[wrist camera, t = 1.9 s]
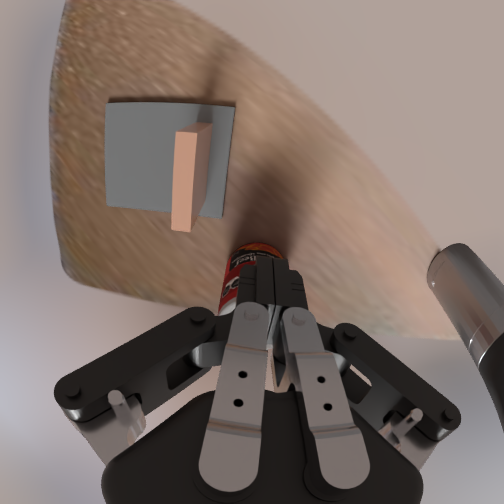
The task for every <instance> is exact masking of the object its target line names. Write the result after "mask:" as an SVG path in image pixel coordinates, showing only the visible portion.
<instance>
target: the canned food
mask: <svg viewBox="0 0 504 504" xmlns="http://www.w3.org/2000/svg"><path fill="white" fill-rule="evenodd" d="M257 255H258V256H266V257H272V258H273V257H274V258H281V259H283V257H282V256H281V255H280V253H279V252H278V251H277V250H276V249H275V248H273V247H272V246H270V245H267V244H264V243H250V244H246V245H244V246H242V247H240V248H239V249H237V250H236V251H235V252H234V253H233V254H232V256H231V257H230V259H229V260H228V263H227V266H226V272H225V277H224V282H223V287H222V293H221V298H220V304H219V309H218V316H220V315H225V314H228V313H230V312H232V311H233V310H234V309H235V306H236V296H237V289H238V281H239V274H240V269H241V268H242V267H243V266H244V265H245V264H248V265H255V262H256V257H257ZM271 348H273V345H270V344H267V345H266V350H268V349H271Z"/></svg>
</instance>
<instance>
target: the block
mask: <svg viewBox="0 0 504 504" xmlns="http://www.w3.org/2000/svg"><path fill="white" fill-rule="evenodd" d="M212 126H213V123H202V122H195V123H193V124H191V125H189V126H186V127H184V128H182V129H180V130H178V131H176V136H175V150H174V167H173V189H172V230H177V231H185V232H191V230H192V228H193V226H194V223H195V221H196V219H197V217H198V215H199V213H200V211H201V209H202V207H203V205H204V203H205V198H206V186H207V175H208V164H209V154H210V144H211V135H212Z"/></svg>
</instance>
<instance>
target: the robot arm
mask: <svg viewBox="0 0 504 504" xmlns="http://www.w3.org/2000/svg"><path fill="white" fill-rule="evenodd" d="M427 282H428V286H429V287H430V289H431V290H432V292H433V293H434V295H435V296H436V298H437V299H438V301H439V303H440V304H441V306H442V307H443V309H444V311H445V312H446V314H447V315H448V317H449V319H450V320H451V322H452V324H453V325H454V327H455V329H456V330H457V332H458V334H459V335H460V337H461V339H462V341H463V342H464V344H465V346H466V348H467V350H468V351H469V353H470V355H471V356H472V359H473V360H474V362H475V364H476V366H477V368H478V370H479V372H480V374H481V376H482V378H483V380H484V382H485V384H486V387H487V389H488V391H489V393H490V396H491V398H492V400H493V403H494V405H495V408H496V410H497V413H498V415H499V419H500V422H501V425H502V428H503V431H504V285H503V284H502V282H501V281H500V280H499V279H498V278H497V277H496V276H495V275H494V274H493V272H492V271H491V270H490V269H489V268H488V267H487V266H486V265H485V264H484V263H483V261H482V260H481V259H480V258H479V257H478V256H477V255H476V254H475V253H474V252H473V251H472V250H471V249H470V248H469V247H468V246H467V245H465V244H461V243H457V244H453V245H450V246H448V247H446V248H445V249H443V250H442V251H441V252H440V253H439V254H438V255H437V256H436V257H435V259H434V260H433V262H432V264H431V265H430V268H429V270H428V275H427ZM303 285H304V284H303V279H302V276H301V275H300V274H299V273H298V271H296V270H289V265H288V259H281V258H274V257H273V258H272V257H266V256H258V255H257V257H256V262H255V265H248V264H245V265H244V266H243V267H242V268H241V269H240V274H239V281H238V289H237V296H236V306H235V309H234V310H233V311H232V312H230V313H228V314H225V315H220V316H215V315H214V314H213V312H211V311H210V310H208V309H206V308H203V307H191V308H188V309H186V310H184V311H182V312H181V313H179V314H177V315H175V316H173V317H172V318H170V319H168V320H166V321H165V322H163V323H161V324H159V325H158V326H156V327H154V328H152V329H150V330H148V331H147V332H145V333H143V334H141V335H140V336H138V337H136V338H134V339H132V340H130V341H129V342H127V343H125V344H123V345H121V346H120V347H118V348H116V349H114V350H112V351H111V352H108V353H107V354H105V355H103V356H101V357H99V358H97V359H96V360H94V361H92V362H90V363H88V364H86V365H85V366H83V367H81V368H79V369H77V370H75V371H73V372H72V373H70V374H68V375H66V376H64V377H62V378H61V379H60V380H59V381H58V382H57V384H56V385H55V388H54V397H55V400H56V401H57V403H58V404H59V406H60V407H61V408H62V410H63V411H64V414H65V415H66V417H67V418H68V419H69V421H70V422H71V423H72V424H73V426H74V427H75V428H76V429H77V430H78V431H79V432H80V433H81V434H82V435H83V436H84V437H85V438H86V440H87V441H88V443H89V444H90V445H91V447H92V448H93V449H94V451H95V452H96V454H97V455H98V456H99V457H100V459H101V460H102V462H103V463H104V464H105V465H106V468H105V470H104V472H103V475H102V480H101V488H102V493H103V496H104V499H105V502H106V504H420V501H421V498H422V495H423V480H422V476H421V474H420V472H419V470H420V469H421V467H422V466H423V465H424V463H425V462H426V460H427V459H428V458H429V456H430V455H431V453H432V451H433V450H434V448H435V447H436V445H437V444H438V443H439V442H440V441H442V440H443V439H444V438H445V437H447V436H448V435H449V434H450V433H452V432H453V431H454V430H455V429H456V428H458V426H459V425H460V423H461V414H460V412H459V410H458V408H457V407H456V406H455V405H454V404H452V402H450V401H449V400H448V399H447V398H446V397H444V396H443V395H442V394H440V393H439V392H438V391H437V390H436V389H434V388H433V387H432V386H431V385H429V384H428V383H427V382H426V381H425V380H423V379H422V378H421V377H420V376H418V375H417V374H416V373H415V372H413V371H412V370H411V369H410V368H408V367H407V366H406V365H405V364H403V363H402V362H401V361H400V360H398V359H397V358H396V357H395V356H393V355H392V354H391V353H390V352H388V351H387V350H386V349H385V348H383V347H382V346H381V345H380V344H378V343H377V342H376V341H375V340H373V339H372V338H371V337H370V336H368V335H367V334H366V333H365V332H363V331H362V330H361V329H360V328H358V327H357V326H355V325H353V324H350V323H341V324H338V325H337V326H336V327H335V329H332V328H329V327H326V326H323V325H320V324H318V323H317V322H316V319H315V317H314V315H313V314H312V313H311V312H310V311H308V305H307V300H306V294H305V289H304V286H303ZM267 344H270V345H273V351H272V354H271V358H270V359H271V368H272V376H273V385H274V392H272V391H268V390H265V380H266V368H267V357H268V350H266V345H267ZM351 364H352V365H353V366H354V367H355V368H356V369H357V370H359V371H360V372H361V373H362V374H363V375H364V376H366V377H367V378H368V379H369V380H370V382H371V385H372V387H371V386H370V385H368V384H367V383H366V382H365V381H364V380H362V379H361V378H360V377H359V376H358V375H357V374H356V373H354V372H353V371H352V370H351V369H350V366H351ZM219 365H221V369H220V373H219V378H218V382H217V387H216V390H214V391H209V392H206V393H203V394H201V395H199V396H197V397H195V398H193V399H192V400H191V401H189V402H188V403H187V404H186V405H184V406H183V407H182V408H180V409H179V410H178V411H177V412H175V413H174V414H173V415H171V416H170V417H169V418H168V419H166V420H165V421H164V422H162V423H161V424H160V425H158V426H157V427H156V428H154V429H153V430H152V431H150V432H149V433H148V434H146V435H145V436H144V437H142V438H141V439H139V440H138V441H137V442H135V440H136V439H137V437H138V436H139V435H140V434H141V433H142V432H143V431H144V429H145V427H146V420H145V416H146V415H147V414H149V413H150V412H152V411H153V410H154V409H156V408H157V407H159V406H160V405H162V404H163V403H165V402H166V401H168V400H169V399H171V398H172V397H173V396H175V395H176V394H178V393H179V392H181V391H182V390H183V389H185V388H186V387H188V386H189V385H190V384H192V383H193V382H194V381H196V380H197V379H199V378H200V377H202V376H203V375H204V374H206V373H207V372H208V371H209V370H210V369H211V368H212V366H219ZM134 442H135V443H134Z"/></svg>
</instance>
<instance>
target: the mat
mask: <svg viewBox="0 0 504 504" xmlns="http://www.w3.org/2000/svg"><path fill="white" fill-rule="evenodd" d="M234 113H235V107H228V106H218V105H206V104H191V103H168V102H121V103H106V113H105V183H106V202H107V206H114V207H124V208H134V209H143V210H152V211H161V212H170V213H172V189H173V167H174V150H175V136H176V131H178V130H180V129H182V128H184V127H186V126H189V125H191V124H193V123H195V122H202V123H213V126H212V135H211V144H210V154H209V164H208V175H207V186H206V198H205V203H204V205H203V207H202V209H201V211H200V213H199V215H198V216H203V217H211V218H219V219H222V215H223V205H224V196H225V187H226V178H227V169H228V161H229V153H230V144H231V136H232V129H233V121H234Z"/></svg>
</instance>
